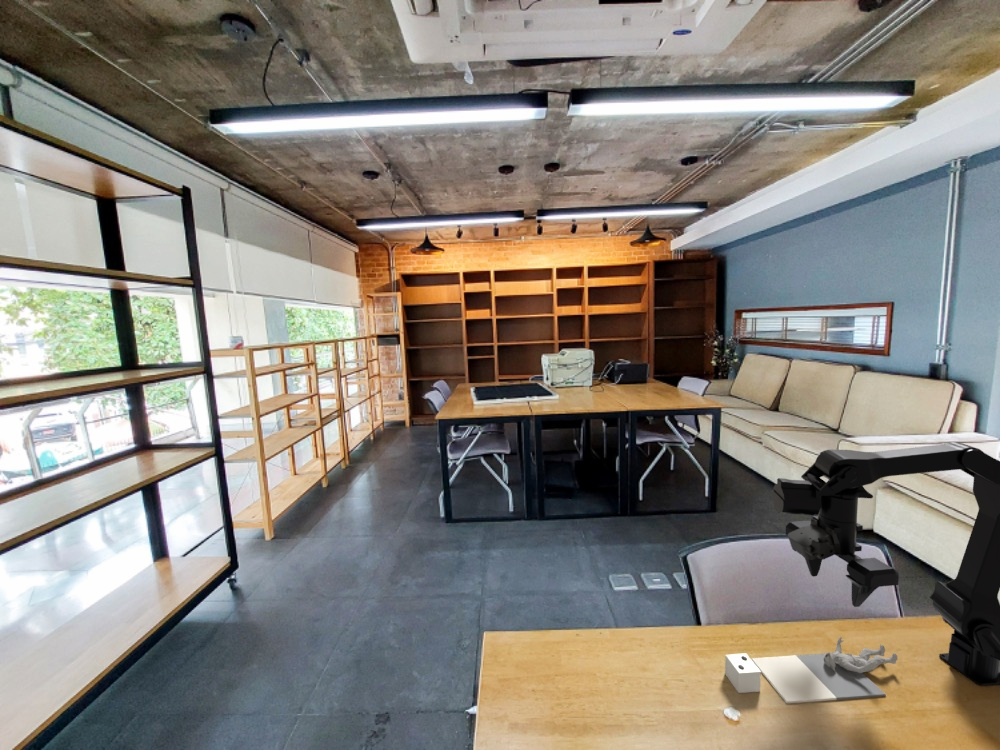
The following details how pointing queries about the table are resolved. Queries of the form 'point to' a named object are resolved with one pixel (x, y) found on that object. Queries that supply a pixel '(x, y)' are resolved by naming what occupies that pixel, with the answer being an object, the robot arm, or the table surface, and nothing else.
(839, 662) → the soldier figure
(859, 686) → the board
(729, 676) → the die
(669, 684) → the table surface
